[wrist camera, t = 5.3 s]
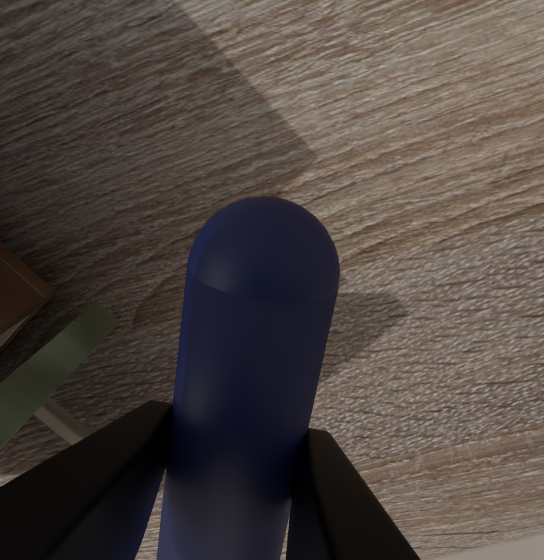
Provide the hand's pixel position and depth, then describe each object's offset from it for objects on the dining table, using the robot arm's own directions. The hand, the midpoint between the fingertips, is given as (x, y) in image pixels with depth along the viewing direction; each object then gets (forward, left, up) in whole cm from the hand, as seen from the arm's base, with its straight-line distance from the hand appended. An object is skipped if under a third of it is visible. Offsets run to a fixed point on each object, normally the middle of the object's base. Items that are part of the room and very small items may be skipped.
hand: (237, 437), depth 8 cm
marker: (0, 0, -1) cm, 1 cm away
